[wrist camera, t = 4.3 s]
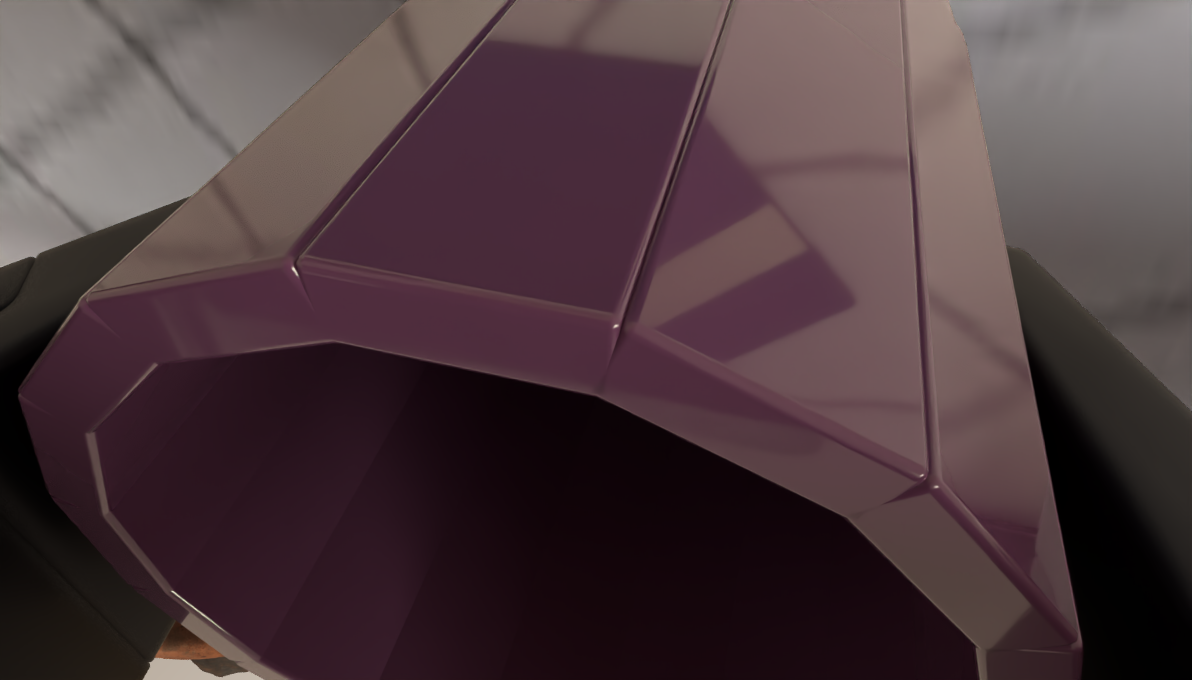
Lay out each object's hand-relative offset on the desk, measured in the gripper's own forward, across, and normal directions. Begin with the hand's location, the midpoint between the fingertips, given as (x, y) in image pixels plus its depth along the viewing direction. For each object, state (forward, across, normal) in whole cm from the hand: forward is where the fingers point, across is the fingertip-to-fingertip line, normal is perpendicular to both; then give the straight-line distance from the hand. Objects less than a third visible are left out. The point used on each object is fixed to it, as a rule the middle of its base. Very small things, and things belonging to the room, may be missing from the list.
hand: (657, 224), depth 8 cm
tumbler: (+2, 0, 0) cm, 2 cm away
